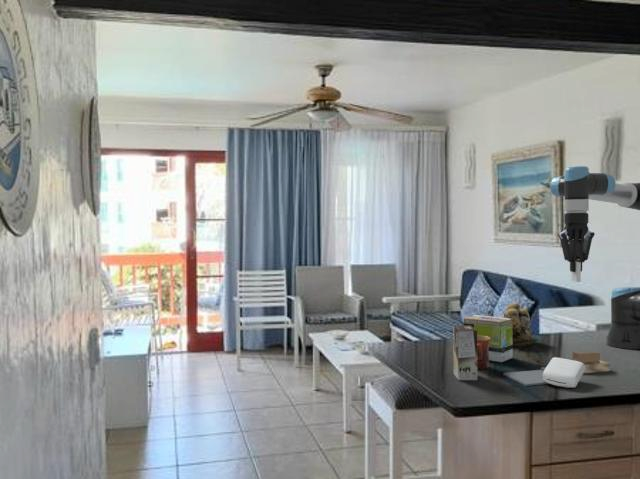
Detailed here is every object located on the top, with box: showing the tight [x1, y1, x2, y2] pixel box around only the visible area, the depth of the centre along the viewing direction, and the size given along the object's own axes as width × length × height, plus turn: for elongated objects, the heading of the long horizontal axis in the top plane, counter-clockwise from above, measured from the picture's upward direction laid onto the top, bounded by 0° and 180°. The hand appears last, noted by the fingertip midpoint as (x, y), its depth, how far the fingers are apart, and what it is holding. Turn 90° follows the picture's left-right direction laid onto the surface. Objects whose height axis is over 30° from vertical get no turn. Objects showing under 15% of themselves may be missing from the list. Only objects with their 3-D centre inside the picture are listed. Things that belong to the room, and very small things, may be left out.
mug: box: [477, 335, 491, 370], centre depth 198 cm, size 12×9×10 cm
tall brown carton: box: [571, 350, 601, 364], centre depth 193 cm, size 14×4×4 cm, turn 99°
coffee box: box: [452, 324, 478, 381], centre depth 188 cm, size 9×6×16 cm
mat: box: [503, 366, 550, 387], centre depth 185 cm, size 15×13×1 cm
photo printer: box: [543, 357, 585, 389], centre depth 179 cm, size 10×4×12 cm
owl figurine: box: [502, 302, 536, 349], centre depth 233 cm, size 18×12×17 cm, turn 137°
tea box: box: [463, 314, 514, 363], centre depth 213 cm, size 15×10×15 cm, turn 47°
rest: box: [583, 359, 611, 374], centre depth 194 cm, size 12×6×2 cm, turn 103°
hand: (576, 281), depth 197 cm, fingers closed
